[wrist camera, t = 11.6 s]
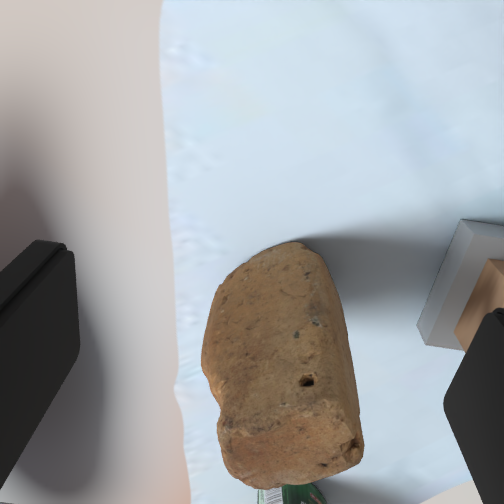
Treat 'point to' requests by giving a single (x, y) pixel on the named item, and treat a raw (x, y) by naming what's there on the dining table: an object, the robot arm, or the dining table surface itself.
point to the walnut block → (481, 301)
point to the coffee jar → (291, 495)
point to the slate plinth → (458, 280)
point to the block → (282, 371)
